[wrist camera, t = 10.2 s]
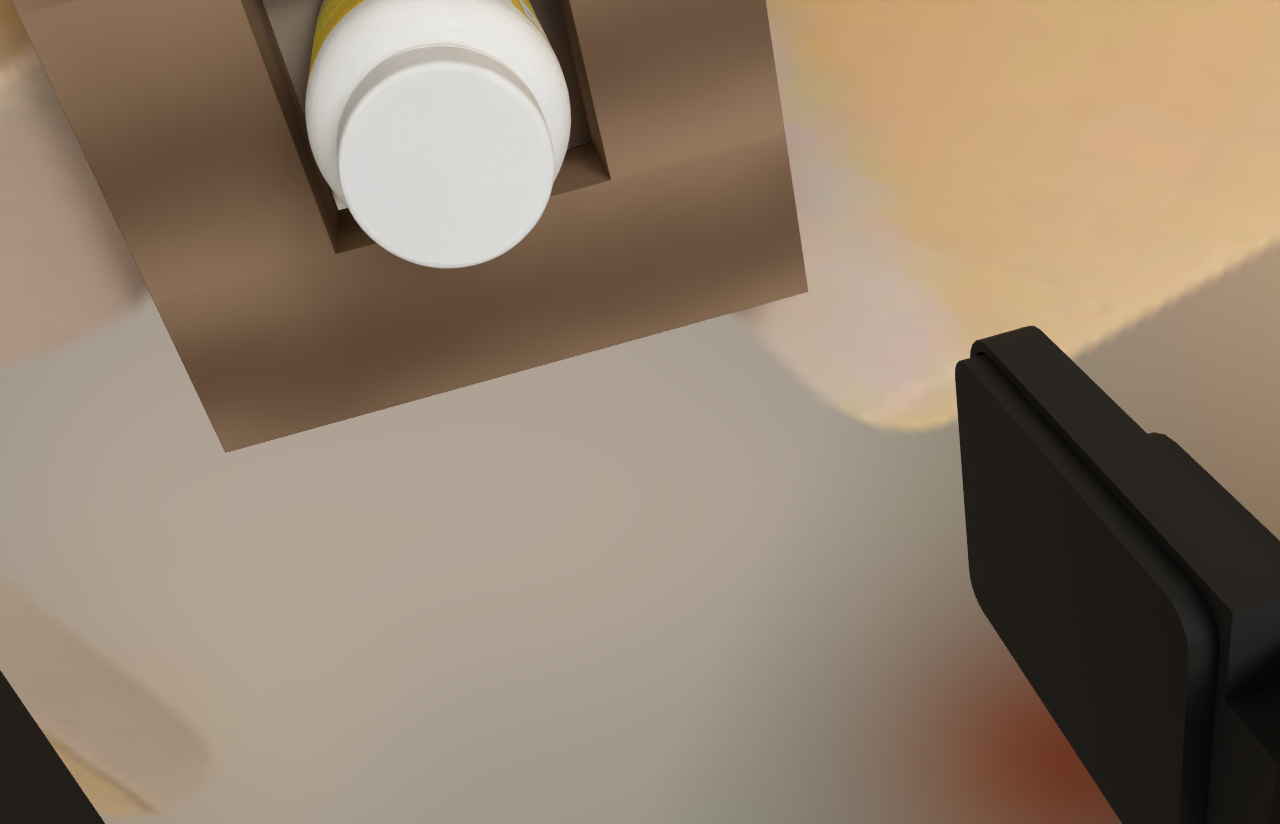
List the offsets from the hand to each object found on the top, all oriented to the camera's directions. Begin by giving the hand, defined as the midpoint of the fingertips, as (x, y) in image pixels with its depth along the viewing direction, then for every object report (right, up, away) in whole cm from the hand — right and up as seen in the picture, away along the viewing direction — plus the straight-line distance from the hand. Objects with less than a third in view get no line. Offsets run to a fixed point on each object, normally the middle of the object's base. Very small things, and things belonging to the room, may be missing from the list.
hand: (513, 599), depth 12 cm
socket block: (-4, +11, +19) cm, 22 cm away
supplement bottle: (-4, +11, +19) cm, 23 cm away
